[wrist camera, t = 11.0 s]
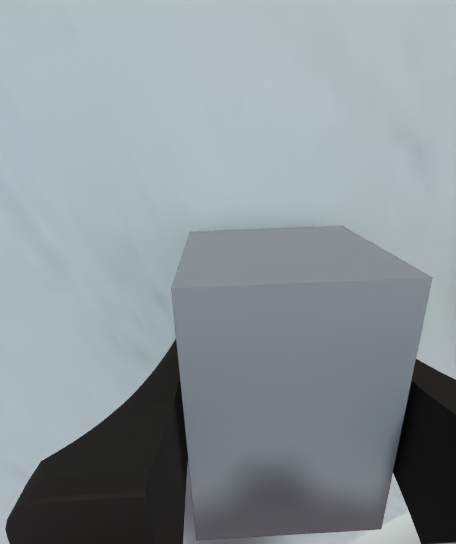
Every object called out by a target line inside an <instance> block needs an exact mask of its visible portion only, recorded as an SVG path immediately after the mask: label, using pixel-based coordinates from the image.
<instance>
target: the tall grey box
mask: <svg viewBox="0 0 456 544" xmlns="http://www.w3.org/2000/svg"><path fill="white" fill-rule="evenodd" d="M431 282H432V277H431V276H429V275H427V274H426V273H424V272H422V271H420V270H419V269H417V268H415V267H413V266H412V265H410V264H408V263H406V262H405V261H403V260H401V259H399V258H398V257H396V256H394V255H392V254H391V253H389V252H387V251H386V250H384V249H382V248H380V247H379V246H377V245H375V244H373V243H372V242H370V241H368V240H366V239H365V238H363V237H361V236H359V235H358V234H356V233H354V232H352V231H351V230H349V229H347V228H345V227H344V226H327V227H301V228H275V229H250V230H224V231H198V232H190V233H189V236H188V239H187V242H186V245H185V248H184V251H183V254H182V257H181V260H180V263H179V266H178V269H177V272H176V275H175V278H174V281H173V284H172V287H171V292H172V302H173V312H174V322H175V332H176V342H177V352H178V361H179V371H180V381H181V391H182V401H183V411H184V421H185V431H186V441H187V450H188V460H189V470H190V480H191V490H192V500H193V510H194V520H195V530H196V540H209V539H226V538H243V537H260V536H276V535H293V534H310V533H326V532H343V531H360V530H377V529H381V527H382V523H383V518H384V513H385V508H386V503H387V498H388V493H389V488H390V483H391V478H392V473H393V468H394V464H395V459H396V454H397V449H398V444H399V439H400V434H401V429H402V424H403V419H404V414H405V409H406V405H407V400H408V395H409V390H410V385H411V380H412V375H413V370H414V365H415V360H416V355H417V351H418V346H419V341H420V336H421V331H422V326H423V321H424V316H425V311H426V306H427V301H428V296H429V292H430V287H431Z"/></svg>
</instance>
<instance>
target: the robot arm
mask: <svg viewBox="0 0 456 544" xmlns="http://www.w3.org/2000/svg"><path fill="white" fill-rule="evenodd" d="M187 463H188V450H187V441H186V431H185V421H184V411H183V401H182V391H181V381H180V371H179V361H178V352H177V342H176V339H175V341H174V343H173V344H172V346H171V348H170V349H169V351H168V352H167V353H166V355H165V356H164V358H163V359H162V361H161V362H160V363H159V365H158V366H157V367H156V369H155V370H154V371H153V372H152V374H151V375H150V376H149V377H148V378H147V379H146V381H145V382H144V383H143V384H142V385H141V386H140V388H139V389H138V390H137V391H136V392H135V393H134V394H133V395H132V396H131V397H130V398H129V399H128V400H127V401H126V402H125V403H124V404H123V405H121V406H120V407H119V408H118V409H117V410H116V411H114V412H113V413H112V414H111V415H110V416H109V417H107V418H106V419H105V420H104V421H102V422H101V423H100V424H98V425H97V426H96V427H94V428H93V429H92V430H90V431H89V432H87V433H86V434H85V435H83V436H82V437H80V438H79V439H77V440H76V441H74V442H73V443H71V444H69V445H68V446H66V447H64V448H63V449H61V450H60V451H58V452H56V453H55V454H53V455H51V456H50V457H48V458H46V459H44V460H43V461H41V462H40V464H39V466H38V467H37V469H36V470H35V472H34V473H33V475H32V476H31V478H30V479H29V481H28V483H27V484H26V486H25V488H24V490H23V492H22V493H21V495H20V497H19V499H18V501H17V503H16V504H15V506H14V508H13V510H12V512H11V514H10V515H9V517H8V519H7V523H6V529H5V530H6V533H7V537H8V540H9V543H10V544H183V530H184V511H185V492H186V476H187ZM393 473H394V476H395V478H396V480H397V483H398V485H399V488H400V490H401V492H402V495H403V497H404V500H405V502H406V505H407V507H408V510H409V512H410V514H411V517H412V520H413V523H414V526H415V528H416V531H417V534H418V536H419V538H420V542H421V544H456V380H455V379H453V378H451V377H449V376H447V375H445V374H443V373H441V372H439V371H437V370H435V369H433V368H432V367H430V366H428V365H426V364H424V363H422V362H421V361H419V360H417V359H416V360H415V365H414V370H413V375H412V380H411V385H410V390H409V395H408V400H407V405H406V409H405V414H404V419H403V424H402V429H401V434H400V439H399V444H398V449H397V454H396V459H395V464H394V468H393Z"/></svg>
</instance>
